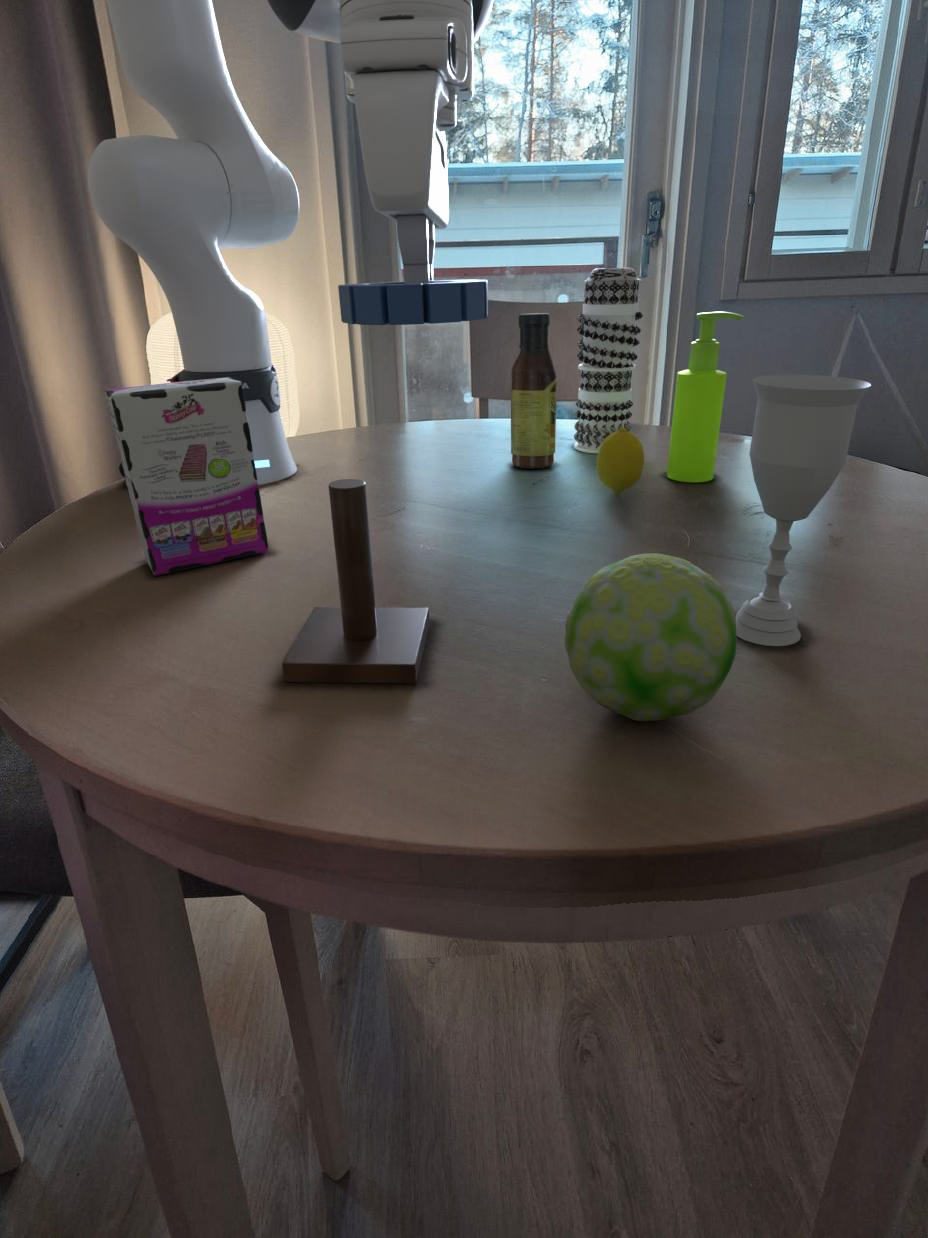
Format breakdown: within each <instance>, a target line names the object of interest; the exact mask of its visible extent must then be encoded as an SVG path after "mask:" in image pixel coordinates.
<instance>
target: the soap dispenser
mask: <svg viewBox="0 0 928 1238" xmlns="http://www.w3.org/2000/svg"><path fill="white" fill-rule="evenodd" d="M744 318H745V316H744V315H742V314H739V313H736V312H730V311H708V312H698V313H697V314H696V318H695V320H700V326H699V334H698V335H699V336H698V338H696V339H695V341H692V342H691V343H690V351H689V359H688V369H683V370H680V371H677V373H676V382H675V383H676V384H675V393H674V402H673V411H672V412H673V413H672V422H671V429H670V440H669V449H668V459H667V470H666V477H667V478H668V479H670V480H672V481H676V482H681V483H706V482H709V481H712V480H713V479H714V474H715V465H716V459H717V453H718V444H719V437H720V428H721V423H722V422H721V421H722V415H723V407H724V399H725V393H726V392H725V391H726V383H727V376H728V373H727V372H726V371H723V370H719V369H718V364H719V355H720V348H721V342H720V341H717V339H716V338H714V337H715V329H716V322H717V321H716V320H717V319H730V320H736V321H742V320H743V319H744Z"/></svg>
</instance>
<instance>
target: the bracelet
mask: <svg viewBox="0 0 928 1238" xmlns="http://www.w3.org/2000/svg"><path fill="white" fill-rule="evenodd" d="M337 289H338V299H339V308H340V309H339V310H340V321H341V322H342V323H343V324H348V325H357V326H358V325H359V326H363V325H364V326H385V325H387V326H409V325H413V326H415V325H424V324H429V325H435V324H449V323H451V324H452V323H461V322H471V321H478V320H485V319H487V318H488V316H489V294H488V293H489V292H488V291H489V290H488V289H489V286H488V279H442V280H441V279H440V280H439V279H438V280H435V279H434V281H430V283H418V284H404V281H381V282H361V283H360V282H359V283H345V284H339V285H337Z"/></svg>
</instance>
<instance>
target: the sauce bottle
mask: <svg viewBox="0 0 928 1238" xmlns="http://www.w3.org/2000/svg"><path fill="white" fill-rule="evenodd" d="M550 323H551V321H550V313H549V312H547V313H546V312H534V313H533V312H532V313H531V312H530V313H521V314H519V315H518V328H519V345H518V347H519V353H518V355H517V357H516V359H515V360H514V362H513V364H512V367H511V373H510V375H511V388H510V455H512V456H511V462H512V465H513V466H514V467H516V468H519V469H525V470H526V469H528V470H533V469H545V468H548V467H551V466H552V465H553V464H554V461H555V453H556V434H557V433H556V430H557V427H556V426H557V385H558V384H557V381H558V377H557V372H556V369H555V366H554V362H553V359H552V355H551V352H550V349H549V326H550Z"/></svg>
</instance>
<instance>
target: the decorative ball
mask: <svg viewBox="0 0 928 1238" xmlns="http://www.w3.org/2000/svg"><path fill="white" fill-rule="evenodd" d="M735 617H736V612H735V610H734V607H733V604H732V602H731V601H730V599H729V598H728V597H727V594H726V592H725V590H724V589H723V587H721V585H720V584H719V583H718V582H717V580H716V579H715V578H714V577H712V575H710V574H709V573H707V572H705V571H704V570H702V569H701V567H699V566H696V565H694V564H693V563H692V562H690V561H688V560H686V559H684V558H681V557H678V556H672V555H668V554H664V553H655V552H653V553H650V552H649V553H639V554H634V555H629V556H627V557H626V558H623V559H622V560H618V561H616V562H614V563H610V564H609V565H606V566H604V567H602V568H600V569H599V570H598V571H597V572H595V573H594V574H593V575H591V577H589V579H587V580H586V582H585V583H584V585H583V587H582V589H580V592H579V593H578V595H577V597H576V599H575V600H574V602H573V603H572V606H571V608H570V610H569V611H568V613H567V616H566V620H565V624H564V625H565V626H564V627H565V635H564V648H565V652H566V654H567V657H568V664H569V667H570V670H571V672H572V674H573V677H574V678H575V680H576V682H577V683H578V684H579V686H580V687H581V688H582V690H583V691H584V692H585V693H586V694H587V695H588V696H589V697H590V698H591V699H592V700H594V701H595V702H596V703H597V704H598V705H599V706H601V707H603V708H605V709H607V710H609V711H612V712H614V713H617V714H619V715H622V716H624V717H626V718H629V719H631V720H633V721H637V722H651V721H655V722H658V721H664V720H669V719H673V718H678V717H683V716H688V715H690V714H693V713H694V712H695V711H696V710H697V709H699V708H701V707H703V706H705V705H706V704H709V702H710V701H712V700H713V699H714V697H715V696H716V694H717V693H718V691H719V690H720V688H721V687H722V685H723V683H724V682H725V680H726V678H727V676H728V675H729V673H730V671H731V669H732V666H733V664H734V661H735V659H736V654H737V645H738V644H737V642H738V641H737V639H738V636H736V619H735Z"/></svg>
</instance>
